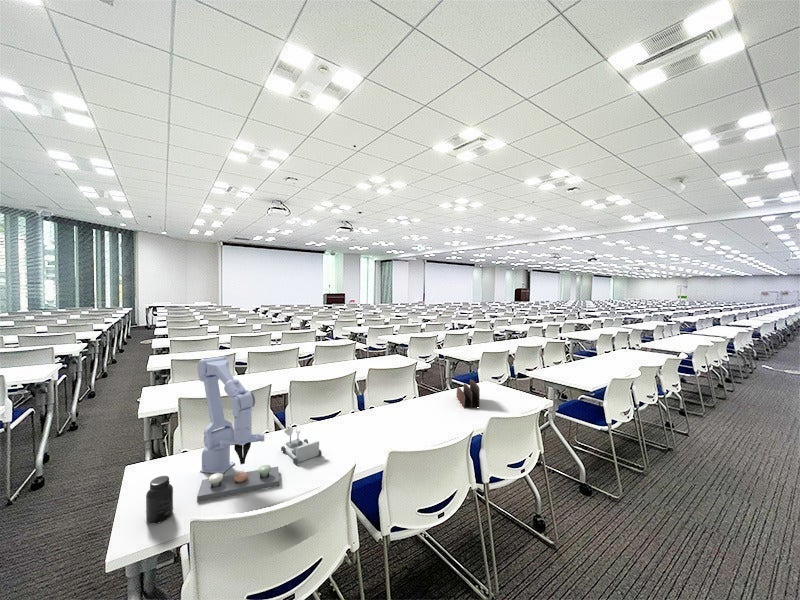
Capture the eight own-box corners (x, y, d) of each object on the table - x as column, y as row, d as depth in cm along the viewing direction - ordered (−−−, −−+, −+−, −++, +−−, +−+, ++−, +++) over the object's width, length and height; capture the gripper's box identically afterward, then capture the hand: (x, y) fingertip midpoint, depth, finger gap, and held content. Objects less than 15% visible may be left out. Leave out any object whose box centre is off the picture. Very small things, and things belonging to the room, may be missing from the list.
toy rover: (278, 428, 147) (303, 421, 155) (278, 449, 147) (302, 442, 155) (296, 443, 134) (322, 435, 141) (296, 466, 134) (321, 457, 142)
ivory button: (208, 490, 114) (208, 481, 114) (209, 483, 118) (209, 474, 118) (222, 487, 116) (222, 478, 116) (223, 480, 120) (223, 472, 120)
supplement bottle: (140, 521, 101) (140, 483, 101) (163, 507, 107) (163, 471, 107) (155, 527, 99) (155, 488, 98) (178, 513, 105) (178, 476, 104)
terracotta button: (233, 488, 117) (233, 480, 117) (234, 481, 121) (234, 473, 121) (247, 486, 119) (247, 477, 119) (247, 479, 123) (247, 471, 123)
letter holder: (470, 398, 223) (471, 377, 222) (479, 409, 203) (480, 386, 203) (456, 397, 222) (457, 377, 222) (463, 409, 203) (464, 386, 202)
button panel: (197, 502, 110) (197, 496, 110) (202, 485, 120) (202, 479, 119) (279, 485, 120) (279, 480, 120) (278, 471, 130) (278, 466, 130)
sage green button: (258, 480, 120) (258, 472, 120) (258, 474, 124) (258, 466, 124) (271, 478, 122) (271, 470, 122) (270, 472, 126) (270, 463, 126)
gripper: (218, 433, 113) (218, 472, 113) (264, 428, 118) (264, 464, 119) (221, 425, 119) (221, 462, 120) (264, 420, 125) (264, 455, 125)
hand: (242, 462), depth 120 cm, fingers closed
